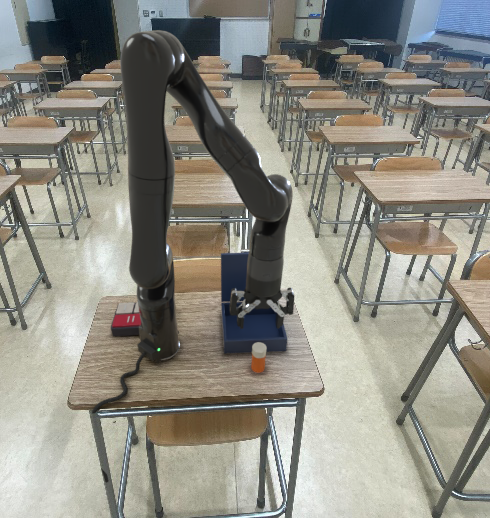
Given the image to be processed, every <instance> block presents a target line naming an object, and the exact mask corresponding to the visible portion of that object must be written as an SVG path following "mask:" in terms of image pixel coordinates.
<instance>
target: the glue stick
mask: <svg viewBox="0 0 490 518" xmlns="http://www.w3.org/2000/svg"><path fill="white" fill-rule="evenodd" d="M266 349H267V348H266V345H265V344H263V343H261V342H257V343H254V344H253V346H252V353H251V365H250V366H251V370H252V372H254V373H256V374H257V373H258V374H260V373H263V372H264V371H265V368H266V357H267V352H266Z"/></svg>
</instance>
